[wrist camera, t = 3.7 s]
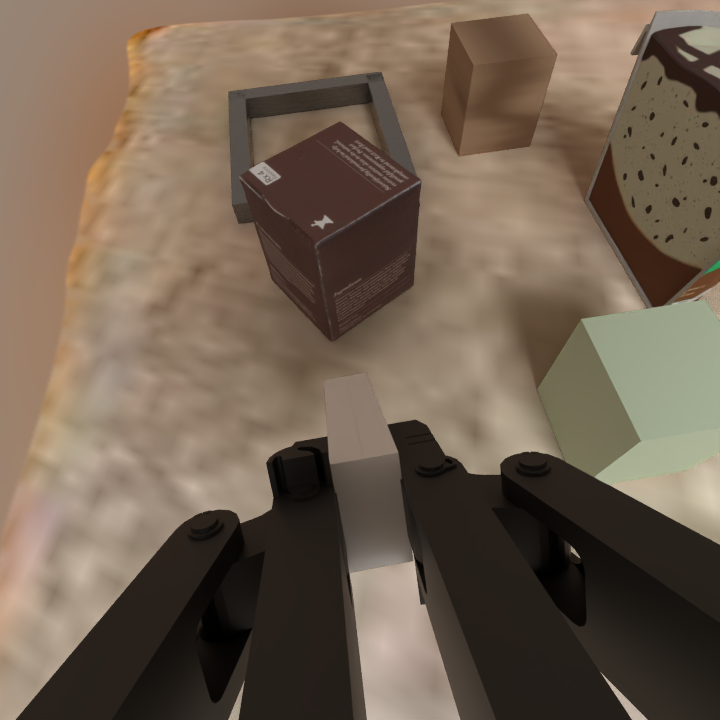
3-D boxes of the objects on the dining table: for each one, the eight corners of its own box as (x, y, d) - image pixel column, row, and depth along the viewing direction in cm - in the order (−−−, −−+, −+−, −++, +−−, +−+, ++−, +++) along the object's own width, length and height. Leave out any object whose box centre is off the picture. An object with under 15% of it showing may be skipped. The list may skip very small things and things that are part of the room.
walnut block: (506, 105, 35) (528, 13, 30) (529, 147, 33) (557, 54, 28) (441, 114, 35) (451, 23, 30) (458, 156, 32) (473, 65, 27)
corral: (381, 91, 37) (381, 71, 35) (415, 198, 30) (417, 178, 29) (233, 111, 36) (228, 91, 35) (238, 223, 30) (232, 204, 29)
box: (416, 288, 27) (427, 180, 20) (331, 346, 25) (314, 248, 19) (350, 229, 29) (341, 117, 23) (268, 278, 28) (235, 171, 21)
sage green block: (634, 374, 24) (705, 299, 18) (685, 471, 21) (784, 416, 16) (536, 390, 23) (580, 318, 18) (576, 490, 21) (641, 441, 16)
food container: (781, 325, 25) (996, 155, 16) (667, 343, 24) (824, 180, 16) (665, 171, 31) (776, -11, 22) (574, 184, 31) (650, 6, 22)
